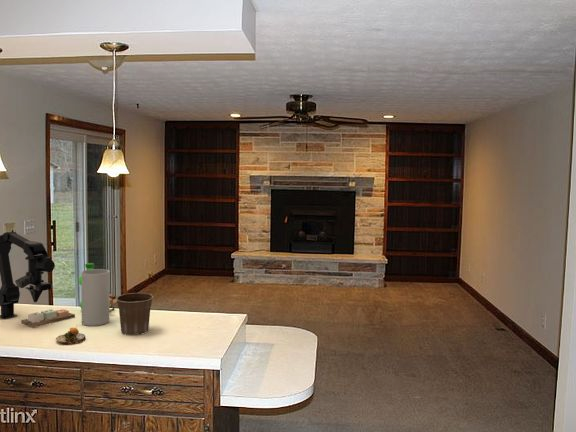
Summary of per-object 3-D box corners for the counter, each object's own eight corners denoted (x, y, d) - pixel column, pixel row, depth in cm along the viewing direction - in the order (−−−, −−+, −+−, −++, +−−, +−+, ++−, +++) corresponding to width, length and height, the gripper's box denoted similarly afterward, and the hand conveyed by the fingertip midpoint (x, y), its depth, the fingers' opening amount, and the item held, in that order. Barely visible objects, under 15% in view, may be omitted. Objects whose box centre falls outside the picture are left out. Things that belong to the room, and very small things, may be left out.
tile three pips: (53, 317, 247) (53, 310, 246) (63, 314, 251) (62, 308, 250) (59, 318, 244) (59, 312, 244) (68, 316, 248) (68, 310, 248)
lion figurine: (110, 316, 252) (110, 298, 251) (99, 316, 251) (99, 299, 250) (115, 308, 266) (115, 292, 265) (105, 308, 265) (105, 292, 264)
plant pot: (142, 338, 220) (142, 302, 218) (109, 335, 223) (109, 299, 222) (158, 327, 236) (159, 294, 234) (127, 324, 239) (127, 291, 238)
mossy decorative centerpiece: (66, 335, 222) (66, 319, 221) (91, 337, 220) (91, 321, 219) (49, 344, 210) (49, 327, 209) (75, 347, 208) (74, 329, 207)
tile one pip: (27, 320, 236) (27, 314, 235) (37, 318, 240) (37, 311, 240) (33, 322, 233) (33, 315, 233) (43, 320, 237) (43, 313, 237)
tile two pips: (40, 317, 241) (40, 311, 241) (50, 315, 245) (50, 308, 245) (46, 319, 238) (46, 312, 238) (56, 317, 242) (56, 310, 242)
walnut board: (21, 323, 236) (21, 320, 236) (63, 313, 254) (63, 310, 253) (32, 327, 230) (32, 324, 230) (74, 317, 248) (74, 314, 248)
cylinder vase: (104, 317, 249) (104, 268, 247) (112, 323, 240) (112, 272, 237) (78, 321, 242) (78, 270, 240) (86, 328, 232) (85, 275, 230)
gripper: (7, 269, 233) (7, 302, 234) (28, 275, 223) (29, 309, 224) (30, 266, 242) (31, 297, 243) (52, 271, 232) (52, 304, 233)
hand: (35, 302), depth 236 cm, fingers closed
